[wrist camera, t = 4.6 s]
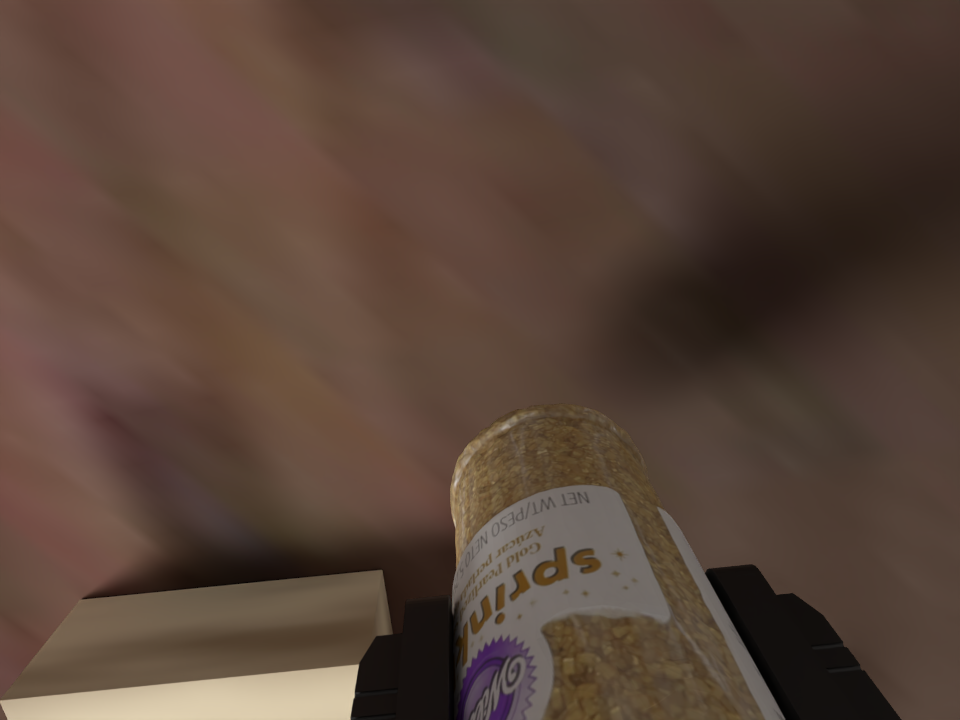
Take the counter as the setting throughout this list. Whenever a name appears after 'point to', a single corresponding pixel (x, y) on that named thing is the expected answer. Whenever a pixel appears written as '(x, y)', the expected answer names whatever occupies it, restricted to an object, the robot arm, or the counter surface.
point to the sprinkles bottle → (583, 585)
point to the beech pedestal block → (209, 653)
